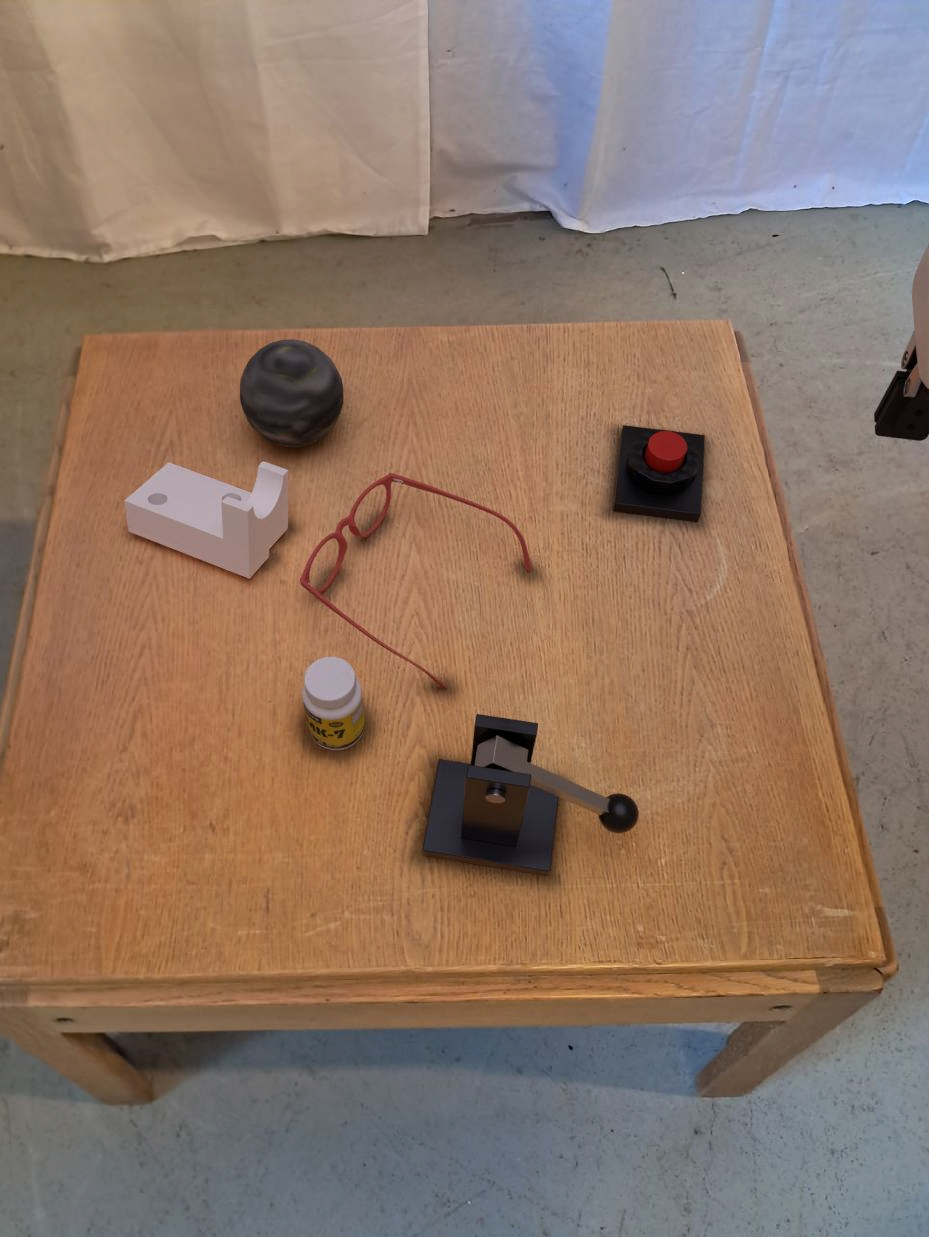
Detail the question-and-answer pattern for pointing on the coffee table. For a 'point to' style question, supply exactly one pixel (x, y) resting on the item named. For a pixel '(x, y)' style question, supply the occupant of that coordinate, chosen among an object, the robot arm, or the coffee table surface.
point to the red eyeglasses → (354, 530)
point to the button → (665, 451)
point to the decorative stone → (291, 393)
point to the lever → (559, 784)
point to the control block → (658, 478)
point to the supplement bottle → (333, 703)
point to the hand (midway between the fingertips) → (898, 428)
